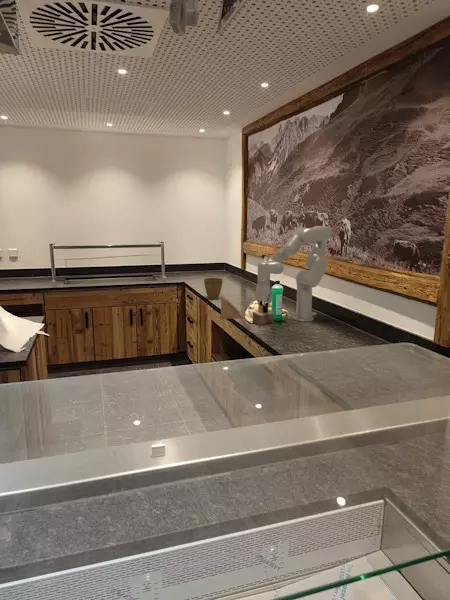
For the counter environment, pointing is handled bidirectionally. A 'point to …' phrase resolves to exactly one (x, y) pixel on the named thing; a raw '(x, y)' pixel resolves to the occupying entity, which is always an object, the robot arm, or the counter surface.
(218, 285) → the plant pot
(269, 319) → the box
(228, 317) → the sandwich container
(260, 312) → the lid
